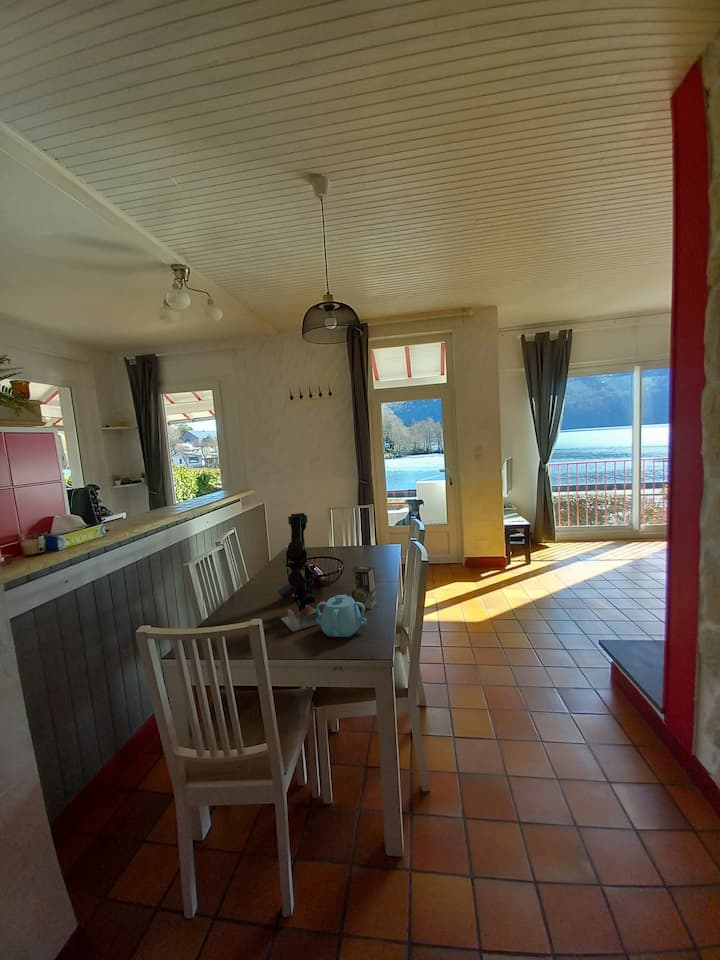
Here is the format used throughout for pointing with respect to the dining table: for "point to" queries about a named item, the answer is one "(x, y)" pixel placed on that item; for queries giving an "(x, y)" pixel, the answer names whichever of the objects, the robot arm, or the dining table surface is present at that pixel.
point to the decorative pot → (340, 616)
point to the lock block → (304, 611)
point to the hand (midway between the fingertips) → (300, 613)
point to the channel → (300, 620)
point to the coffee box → (363, 586)
